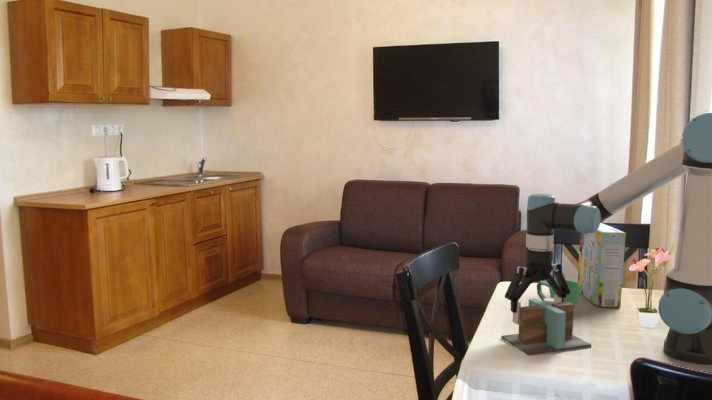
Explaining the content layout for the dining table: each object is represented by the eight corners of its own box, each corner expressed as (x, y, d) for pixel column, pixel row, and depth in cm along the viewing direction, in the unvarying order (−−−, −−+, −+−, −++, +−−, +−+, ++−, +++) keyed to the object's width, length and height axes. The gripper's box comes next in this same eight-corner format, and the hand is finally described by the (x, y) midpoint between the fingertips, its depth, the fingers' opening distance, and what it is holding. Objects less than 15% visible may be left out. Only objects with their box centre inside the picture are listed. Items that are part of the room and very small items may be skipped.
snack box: (623, 308, 213) (627, 232, 210) (597, 308, 213) (600, 232, 210) (599, 290, 235) (602, 221, 231) (575, 290, 235) (578, 221, 231)
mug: (585, 314, 207) (586, 284, 205) (570, 320, 200) (571, 289, 199) (544, 304, 217) (545, 276, 216) (528, 310, 211) (529, 281, 209)
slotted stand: (591, 347, 177) (593, 309, 176) (528, 355, 171) (530, 316, 170) (560, 331, 190) (561, 295, 189) (501, 338, 184) (502, 302, 183)
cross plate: (564, 347, 175) (565, 312, 173) (556, 348, 174) (558, 313, 173) (535, 331, 188) (536, 298, 187) (527, 332, 187) (528, 299, 186)
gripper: (568, 243, 189) (565, 312, 192) (493, 248, 181) (491, 321, 184) (584, 248, 182) (581, 320, 185) (507, 254, 174) (505, 329, 177)
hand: (536, 320), depth 184 cm, fingers open, 13 cm apart
